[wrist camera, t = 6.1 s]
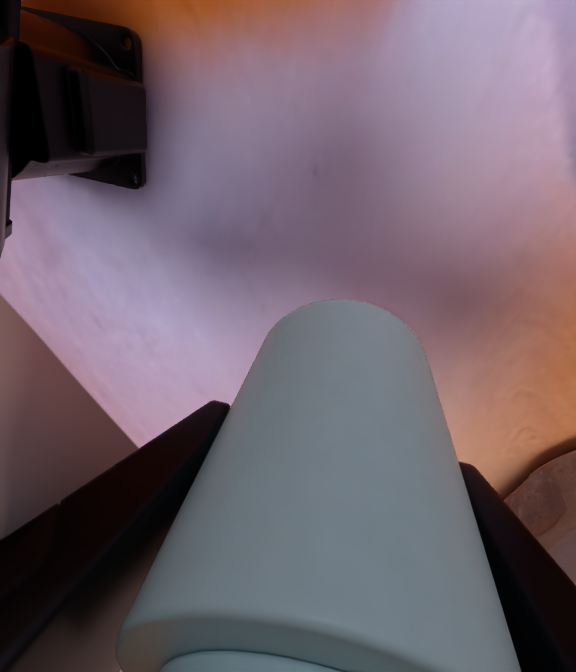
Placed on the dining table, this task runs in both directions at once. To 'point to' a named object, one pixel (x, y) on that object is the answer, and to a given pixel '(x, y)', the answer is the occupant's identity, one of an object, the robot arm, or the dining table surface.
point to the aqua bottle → (325, 521)
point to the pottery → (551, 509)
